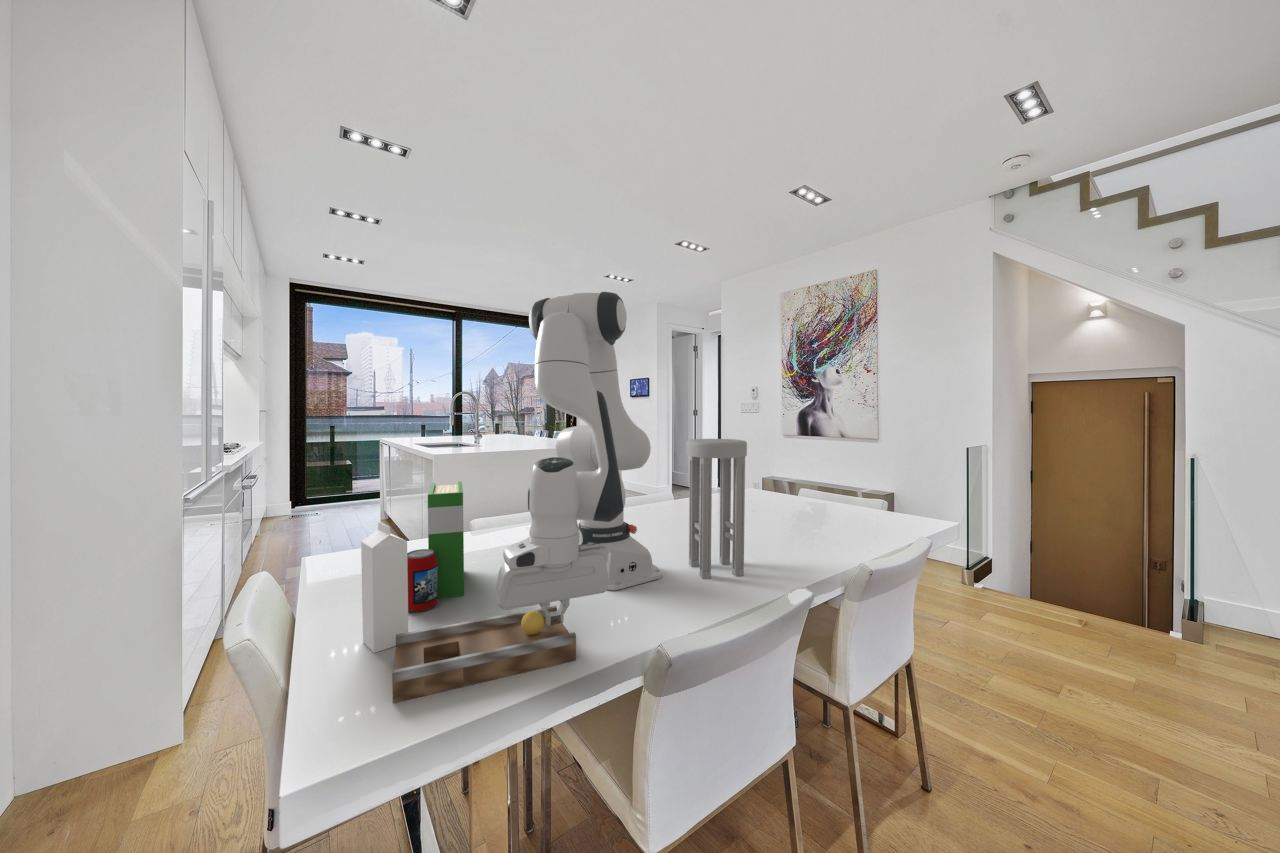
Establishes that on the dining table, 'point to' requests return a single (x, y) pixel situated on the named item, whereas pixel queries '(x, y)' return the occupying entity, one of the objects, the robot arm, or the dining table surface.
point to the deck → (475, 653)
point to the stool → (703, 502)
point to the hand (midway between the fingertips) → (554, 623)
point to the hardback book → (447, 537)
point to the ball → (532, 622)
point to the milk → (384, 588)
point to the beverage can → (422, 580)
